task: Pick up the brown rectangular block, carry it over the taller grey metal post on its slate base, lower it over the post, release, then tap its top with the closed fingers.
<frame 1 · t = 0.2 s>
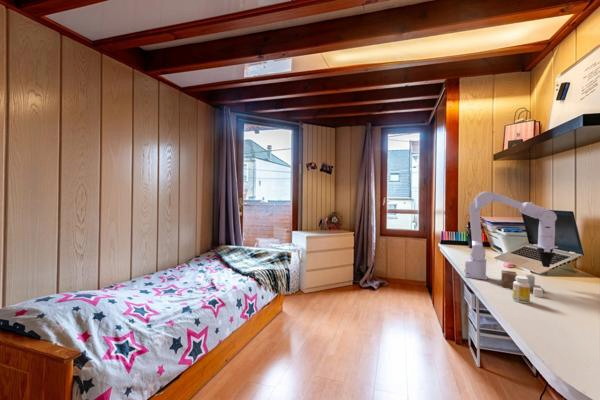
hand: (545, 265, 130), 10 cm above the table, tool pointing down, fingers open, 7 cm apart
supplement bottle: (521, 301, 113), on the table
brown rectangular block: (508, 286, 130), on the table
off-white cube: (537, 295, 119), on the table
post: (530, 288, 128), on the table
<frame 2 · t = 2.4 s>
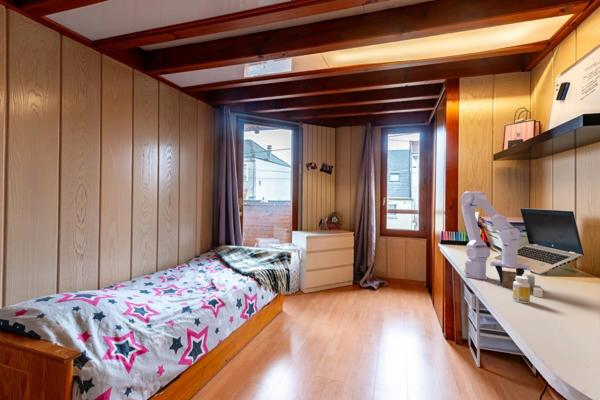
hand: (508, 283, 130), 1 cm above the table, tool pointing down, fingers closed on brown rectangular block, 5 cm apart
brown rectangular block: (508, 286, 130), on the table, touching gripper
everything else where it was.
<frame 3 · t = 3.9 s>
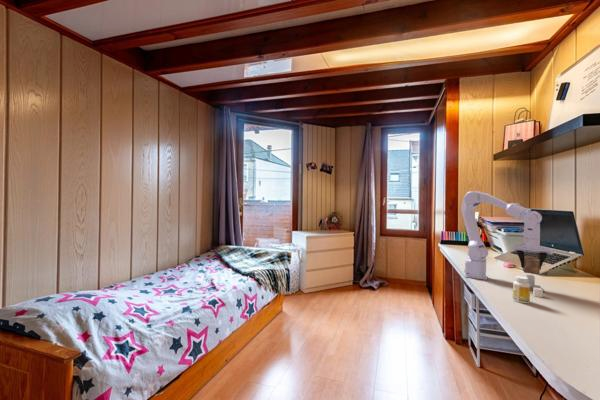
hand: (530, 268, 127), 9 cm above the table, tool pointing down, fingers closed on brown rectangular block, 5 cm apart
brown rectangular block: (530, 272, 127), point 7 cm above the table, touching gripper
everything else where it was.
when the fingers open (4 cm above the table, at t = 5.5 s): brown rectangular block drops 2 cm, resting on post.
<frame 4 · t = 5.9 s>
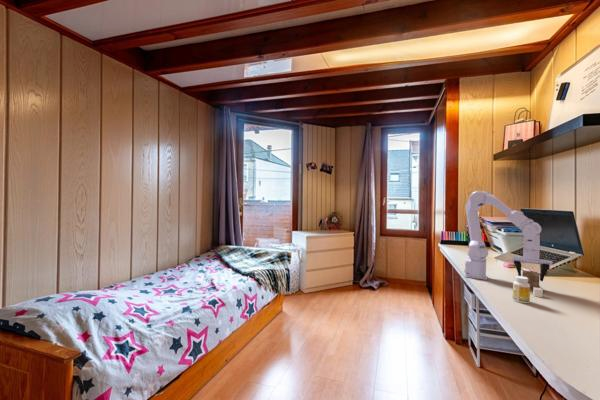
hand: (530, 279, 127), 4 cm above the table, tool pointing down, fingers open, 7 cm apart
brown rectangular block: (530, 286, 127), point 1 cm above the table, touching post
everything else where it was.
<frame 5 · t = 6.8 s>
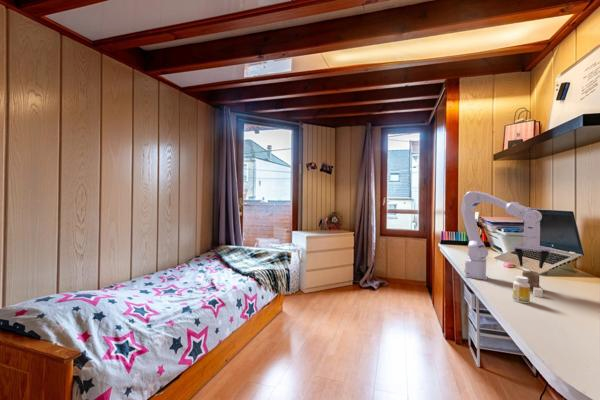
hand: (530, 266, 127), 10 cm above the table, tool pointing down, fingers open, 6 cm apart
nothing on the table moved.
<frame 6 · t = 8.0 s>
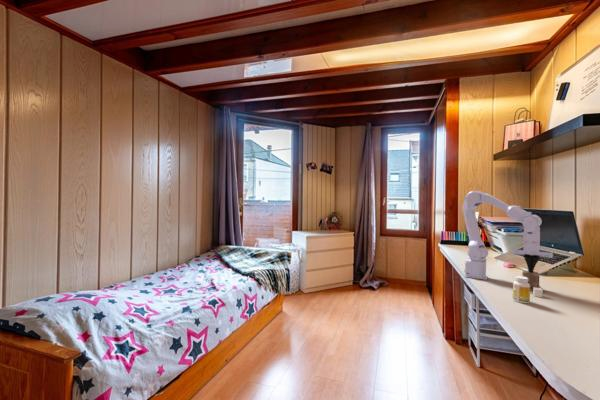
hand: (530, 271, 127), 8 cm above the table, tool pointing down, fingers closed
nothing on the table moved.
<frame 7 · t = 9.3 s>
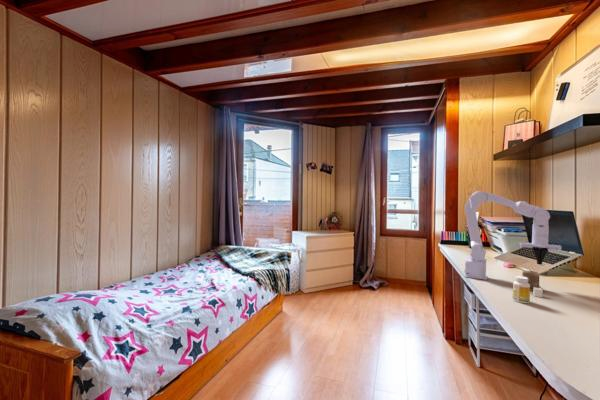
hand: (539, 264, 130), 10 cm above the table, tool pointing down, fingers closed
nothing on the table moved.
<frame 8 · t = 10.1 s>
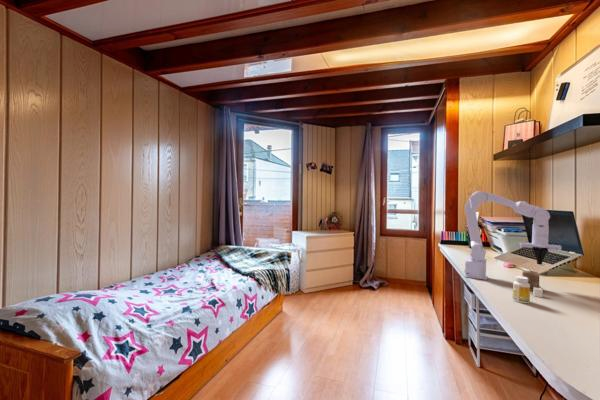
hand: (539, 264, 130), 10 cm above the table, tool pointing down, fingers closed
nothing on the table moved.
at the end: brown rectangular block 0.1 cm from the post (horizontally); brown rectangular block point 0.8 cm above the table; brown rectangular block tilted 0° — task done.
